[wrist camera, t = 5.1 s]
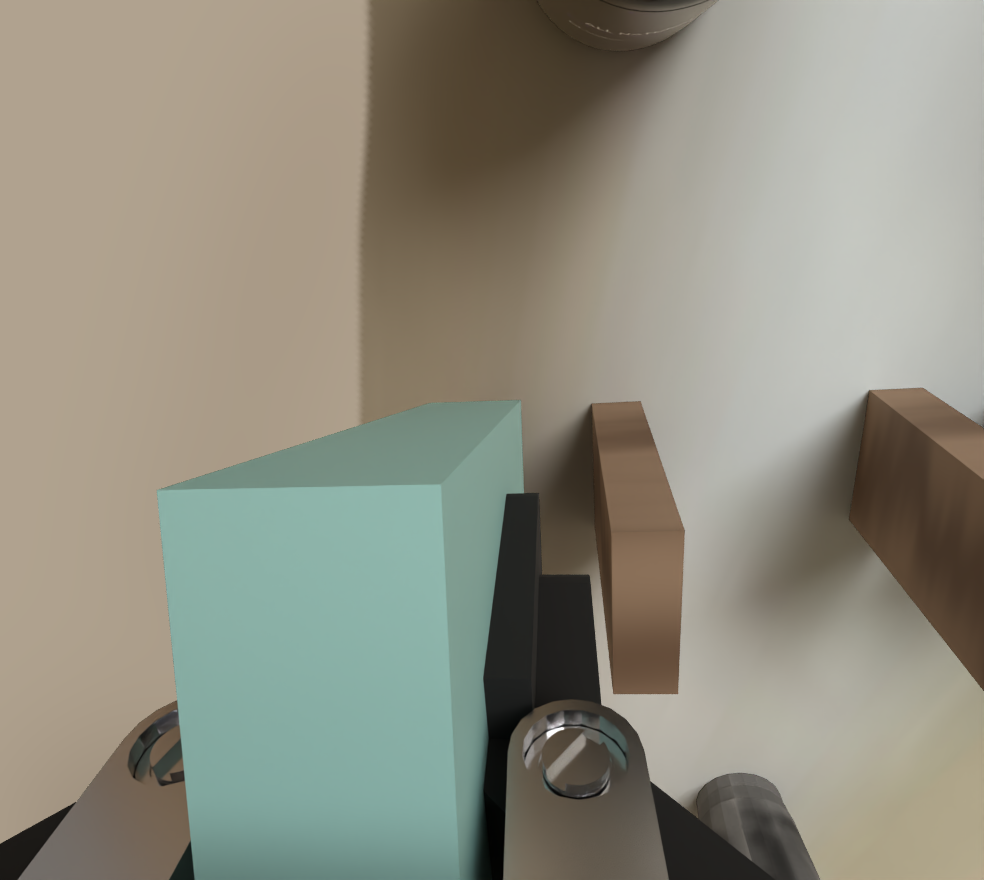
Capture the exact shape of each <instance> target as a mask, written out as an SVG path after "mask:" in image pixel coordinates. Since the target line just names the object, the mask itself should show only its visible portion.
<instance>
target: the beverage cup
mask: <svg viewBox="0 0 984 880" xmlns="http://www.w3.org/2000/svg"><path fill="white" fill-rule="evenodd" d="M697 807H698V816H699V820H700V821H701V822H703V823H704V824H705V825H707V826H708V827H709V828H710V829H712V830H713V831H714V832H715V833H717V834H718V835H719V836H721V837H722V838H723V839H724V840H726V841H727V842H728V843H729V844H731V845H732V846H733V847H735V848H736V849H737V850H738V851H740V852H741V853H742V854H743V855H745V856H746V857H747V858H749V859H750V860H751V861H752V862H754V863H755V864H756V865H757V866H759V867H760V868H761V869H762V870H764V871H765V872H766V873H768V874H769V875H770V876H771V877H773V878H774V879H775V880H820V878H819V876H818V873H817V871H816V869H815V867H814V865H813V862H812V860H811V858H810V856H809V854H808V851H807V849H806V847H805V845H804V843H803V840H802V838H801V836H800V834H799V832H798V829H797V827H796V825H795V823H794V821H793V819H792V817H791V816H790V814H789V812H788V811H787V809H786V807H785V805H784V803H783V801H782V798H781V796H780V793H779V792H778V790H777V788H776V787H775V786H774V785H773V784H772V783H771V782H769V781H768V780H767V779H764V778H762V777H759V776H757V775H752V774H744V773H738V774H728V775H724V776H721V777H718V778H715V779H714V780H712V781H711V782H709V783H707V784H706V785H705V786H704V787H703V788H702V790H701V791H700V792H699V795H698V798H697Z"/></svg>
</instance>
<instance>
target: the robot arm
mask: <svg viewBox="0 0 984 880" xmlns="http://www.w3.org/2000/svg"><path fill="white" fill-rule="evenodd" d="M483 683H484V693H485V704H486V715H487V726H488V737H489V740H488V750H487V759H486V769H485V779H484V788H483V792H484V802H485V812H486V822H487V832H488V842H489V852H490V862H491V872H492V880H775V879H774V878H773V877H771V876H770V875H769V874H768V873H766V872H765V871H764V870H762V869H761V868H760V867H759V866H757V865H756V864H755V863H754V862H752V861H751V860H750V859H749V858H747V857H746V856H745V855H743V854H742V853H741V852H740V851H738V850H737V849H736V848H735V847H733V846H732V845H731V844H729V843H728V842H727V841H726V840H724V839H723V838H722V837H721V836H719V835H718V834H717V833H715V832H714V831H713V830H712V829H710V828H709V827H708V826H707V825H705V824H704V823H703V822H701V821H700V820H699V819H698V818H696V817H695V816H694V815H693V814H691V813H690V812H689V811H688V810H686V809H685V808H684V807H682V806H681V805H680V804H679V803H677V802H676V801H675V800H674V799H672V798H671V797H670V796H668V795H667V794H666V793H665V792H663V791H662V790H661V789H660V788H658V787H657V786H656V785H654V784H653V783H652V782H651V781H650V778H649V773H648V768H647V762H646V757H645V752H644V749H643V746H642V744H641V741H640V738H639V736H638V734H637V732H636V731H635V730H634V729H633V727H632V726H631V725H630V724H629V723H628V721H627V720H626V719H625V718H623V717H622V716H620V715H619V714H617V713H616V712H615V711H613V710H612V709H610V708H608V707H605V706H602V705H601V696H600V685H599V673H598V662H597V651H596V640H595V628H594V617H593V606H592V595H591V584H590V576H589V575H542V560H541V533H540V506H539V493H512V494H506V500H505V508H504V516H503V524H502V532H501V540H500V548H499V556H498V564H497V572H496V580H495V587H494V595H493V603H492V611H491V619H490V627H489V635H488V643H487V651H486V659H485V667H484V675H483ZM0 880H195V878H194V868H193V857H192V847H191V837H190V827H189V816H188V806H187V796H186V786H185V775H184V765H183V755H182V744H181V734H180V724H179V714H178V703H177V701H175V702H172V703H171V704H168V705H166V706H164V707H162V708H160V709H158V710H156V711H155V712H154V713H152V714H151V715H149V716H148V717H147V718H145V719H144V720H142V721H141V722H140V723H139V724H138V725H137V726H136V727H135V728H134V729H133V730H132V731H131V732H130V733H129V734H128V735H127V736H126V737H125V738H124V740H123V741H122V742H121V744H120V745H119V746H118V748H117V749H116V750H115V752H114V753H113V754H112V756H111V757H110V758H109V759H108V761H107V762H106V763H105V765H104V766H103V767H102V769H101V770H100V771H99V773H98V774H97V775H96V777H95V778H94V779H93V781H92V782H91V783H90V785H89V786H88V787H87V789H86V790H85V791H84V793H83V794H82V795H81V797H80V798H79V799H78V800H77V802H75V803H73V804H72V805H70V806H68V807H66V808H64V809H62V810H61V811H59V812H57V813H55V814H53V815H52V816H50V817H48V818H46V819H44V820H43V821H41V822H39V823H37V824H35V825H33V826H32V827H30V828H28V829H26V830H24V831H22V832H21V833H19V834H17V835H15V836H13V837H12V838H10V839H8V840H6V841H4V842H3V843H1V844H0Z"/></svg>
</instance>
